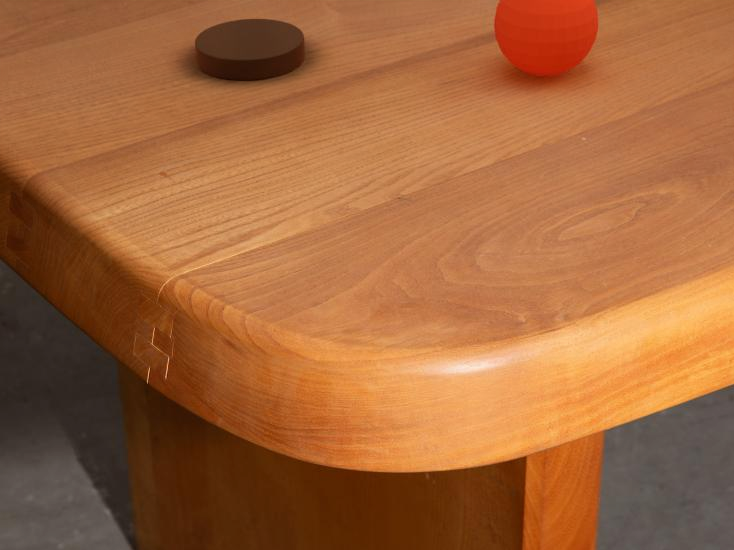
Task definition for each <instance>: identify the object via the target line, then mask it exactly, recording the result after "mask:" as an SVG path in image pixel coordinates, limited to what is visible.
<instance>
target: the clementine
mask: <svg viewBox="0 0 734 550" xmlns="http://www.w3.org/2000/svg"><path fill="white" fill-rule="evenodd" d="M493 20H494V22H493V23H494V24H493V28H494V36H495V41H496V43H497V45H498V48H499V50H500V52H501V53H502V55H503V57H505V59H506V60H507V61H508V62H509V64H511V65H512V66H513V67H515V68H517V69H518V70H520V71H521V72H522V73H525V74H527V75H532V76H537V77H552V76H559V75H562V74H564V73H567V72H568V71H570V70H572V69H574V68H575V67H577V66H578V65H580V64H581V62H582V61H583V60H584V59H585V58H586V57H587V56H588V55H589V53H590V52H591V50H592V48H593V46H594V44H595V42H596V40H597V35H598V31H599V15H598V7H597V4H596V2H595V0H498V3H497V5H496V9H495V15H494V19H493Z"/></svg>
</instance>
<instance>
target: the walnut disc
mask: <svg viewBox="0 0 734 550" xmlns="http://www.w3.org/2000/svg"><path fill="white" fill-rule="evenodd" d="M194 50H195V59H196V66H198V68H199V70H201V71H202V72H204V73H205V74H207V75H209V76H212V77H214V78H219V79H224V80H233V81H255V80H256V81H257V80H264V79H270V78H274V77H278V76H282V75H285V74H287V73H289V72H292V71H294V70H296V69H297V68H298V67H300V66H301V65H302V64H303V63H304V61H305V58H306V50H305V35H304V32H303V30H301V29H300V28H299V27H297V26H296V25H294V24H291V23H289V22H287V21H286V22H285V21H283V20H277V19H268V18H244V19H235V20H230V21H225V22H221V23H218V24H215V25H212V26H210V27H207V28H206V29H203V31H201V32H199V34H198V35H197V36H196V38H195V39H194Z"/></svg>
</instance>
